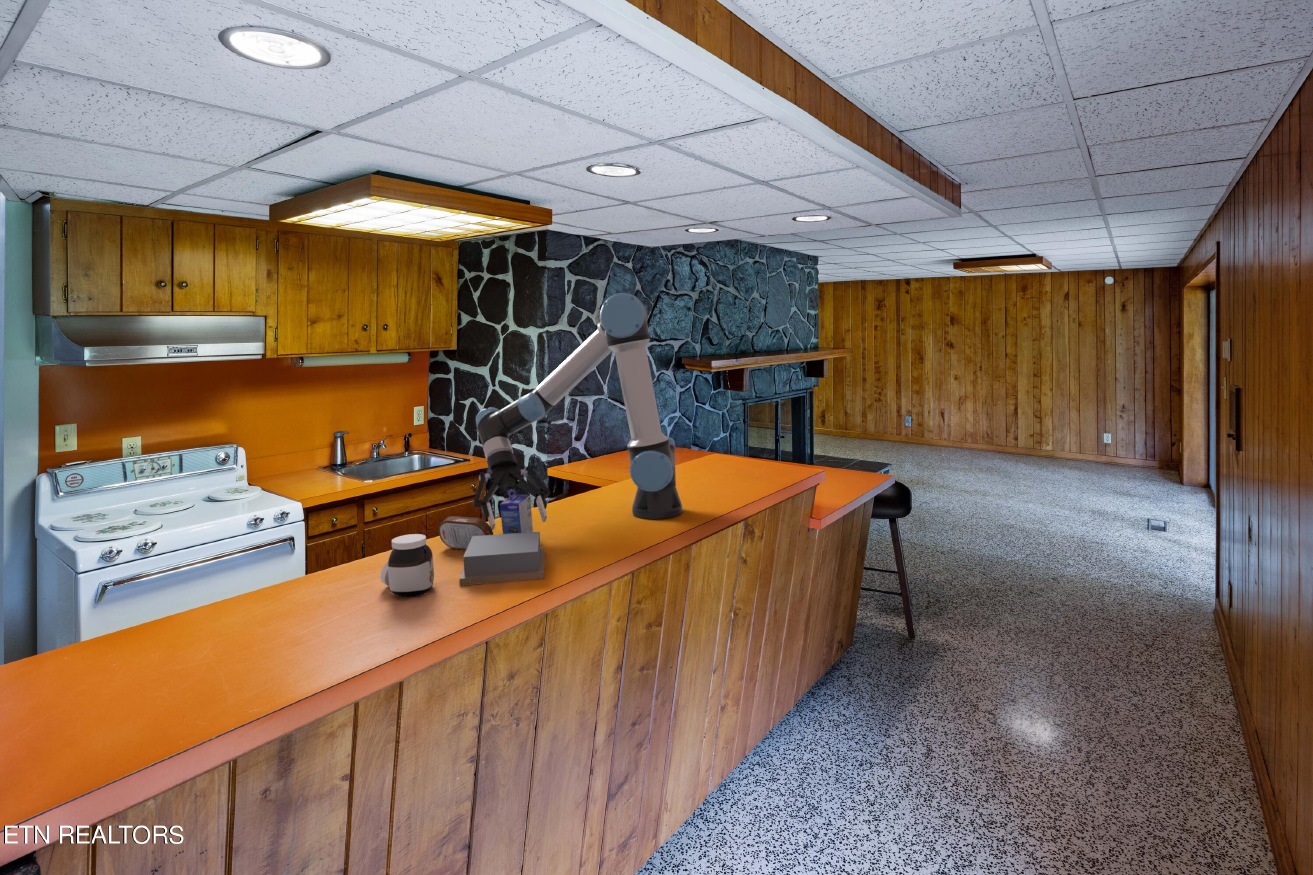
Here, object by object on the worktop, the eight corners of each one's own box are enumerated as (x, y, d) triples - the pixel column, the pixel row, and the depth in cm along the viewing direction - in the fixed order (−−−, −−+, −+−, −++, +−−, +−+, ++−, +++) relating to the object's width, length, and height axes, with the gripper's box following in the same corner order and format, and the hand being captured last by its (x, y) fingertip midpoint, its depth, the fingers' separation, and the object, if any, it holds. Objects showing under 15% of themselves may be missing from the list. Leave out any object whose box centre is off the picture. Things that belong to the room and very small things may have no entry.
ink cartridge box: (514, 538, 177) (510, 485, 175) (534, 538, 176) (531, 485, 174) (502, 549, 167) (498, 494, 165) (523, 549, 166) (520, 494, 164)
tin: (496, 548, 167) (491, 517, 165) (489, 553, 164) (484, 522, 162) (447, 543, 172) (441, 514, 170) (439, 549, 169) (433, 518, 167)
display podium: (545, 553, 163) (543, 530, 162) (543, 578, 145) (542, 552, 144) (470, 559, 160) (468, 535, 159) (459, 585, 142) (457, 558, 142)
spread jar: (421, 600, 135) (417, 545, 133) (367, 601, 135) (362, 546, 134) (443, 579, 147) (439, 529, 145) (393, 580, 147) (388, 529, 145)
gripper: (541, 460, 188) (562, 523, 177) (452, 470, 176) (468, 538, 165) (546, 444, 183) (568, 508, 172) (455, 453, 171) (472, 522, 160)
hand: (519, 523), depth 169 cm, fingers open, 13 cm apart
